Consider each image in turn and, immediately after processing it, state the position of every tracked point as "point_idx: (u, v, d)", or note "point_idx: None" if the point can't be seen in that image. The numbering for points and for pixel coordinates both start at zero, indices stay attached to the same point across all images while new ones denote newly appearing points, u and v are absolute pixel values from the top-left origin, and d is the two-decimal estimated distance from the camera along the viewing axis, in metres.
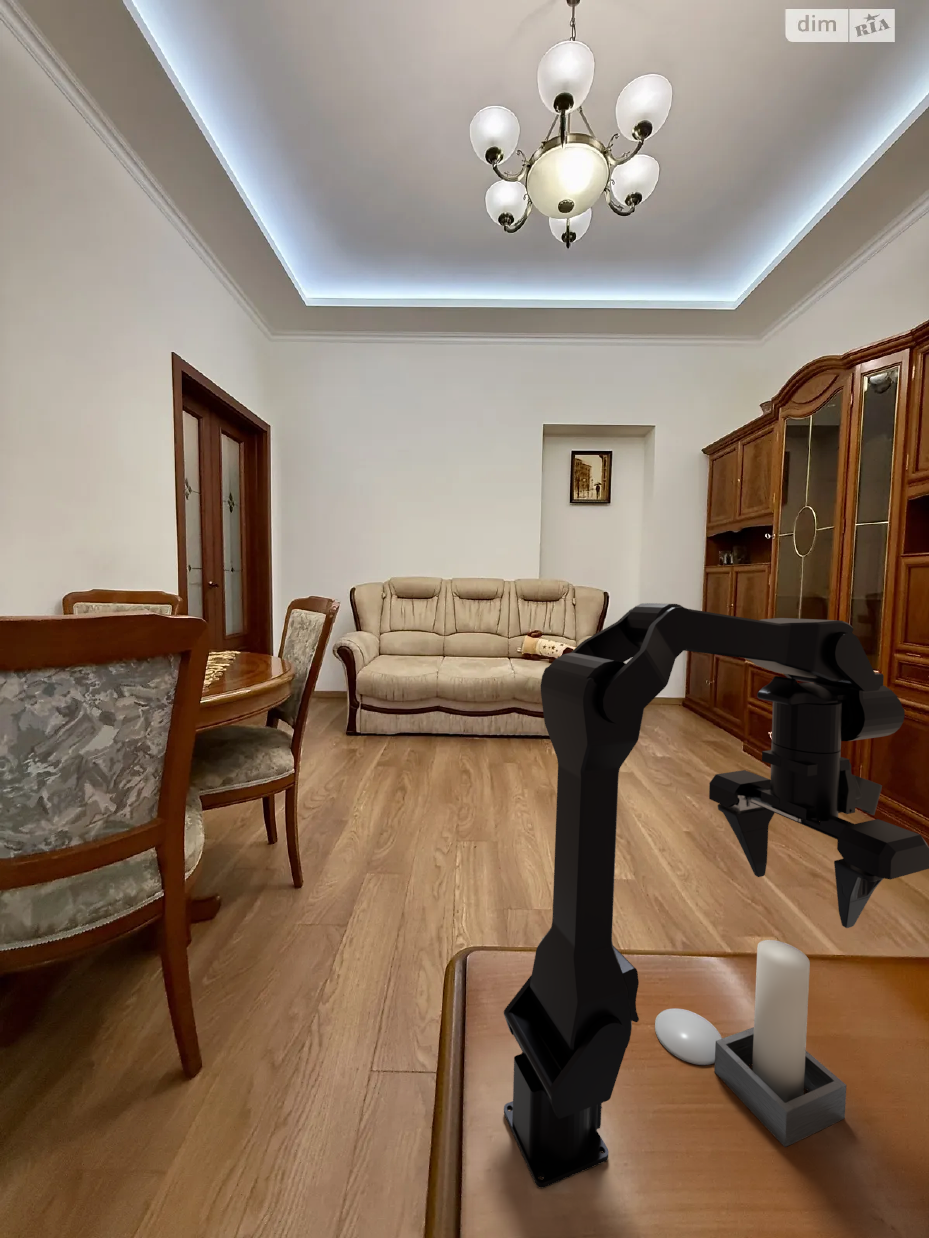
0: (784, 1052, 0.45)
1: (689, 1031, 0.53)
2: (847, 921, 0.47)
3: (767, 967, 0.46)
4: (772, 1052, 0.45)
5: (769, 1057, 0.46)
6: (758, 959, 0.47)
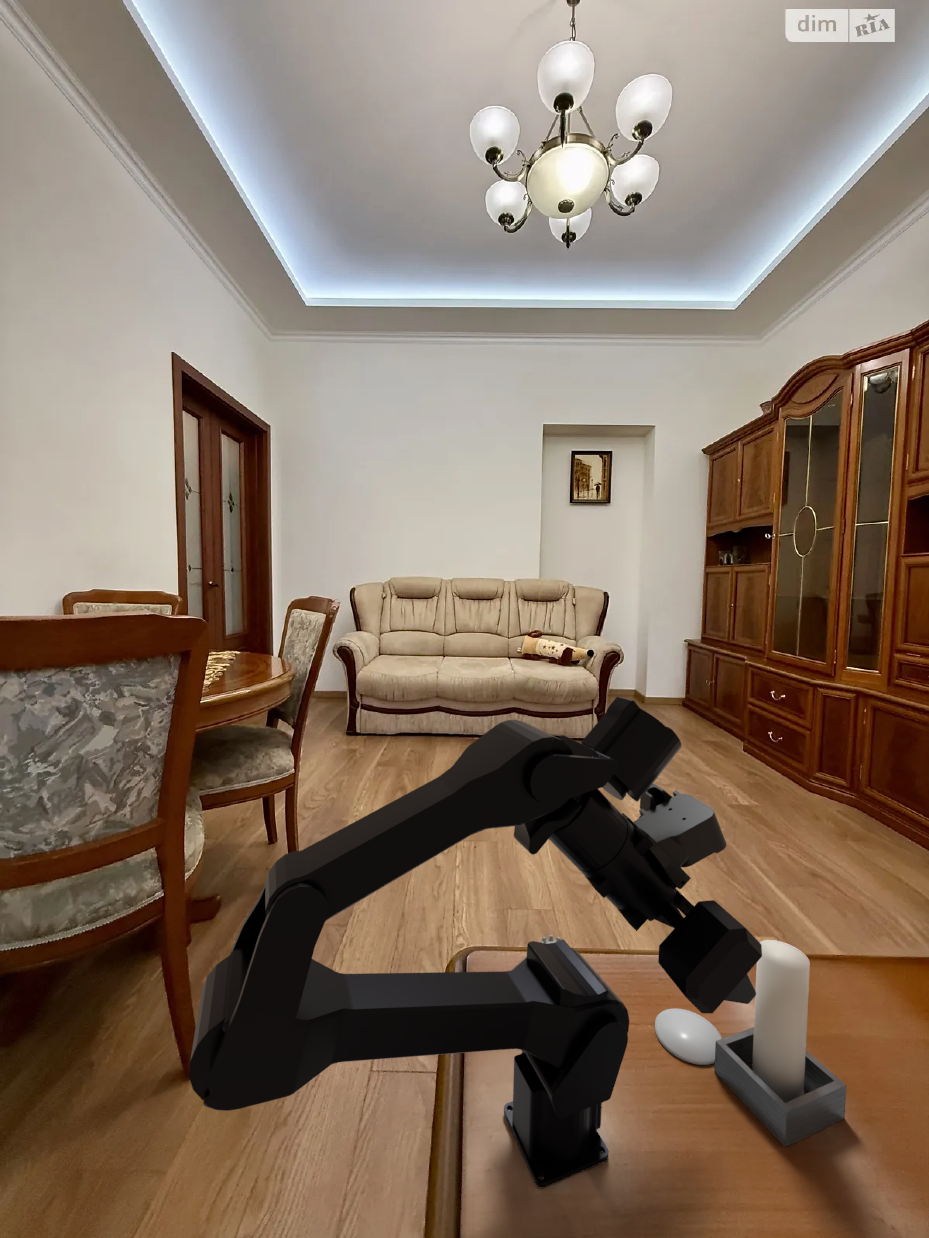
0: (784, 1052, 0.45)
1: (689, 1031, 0.53)
2: (741, 1002, 0.40)
3: (767, 967, 0.46)
4: (772, 1052, 0.45)
5: (769, 1057, 0.46)
6: None
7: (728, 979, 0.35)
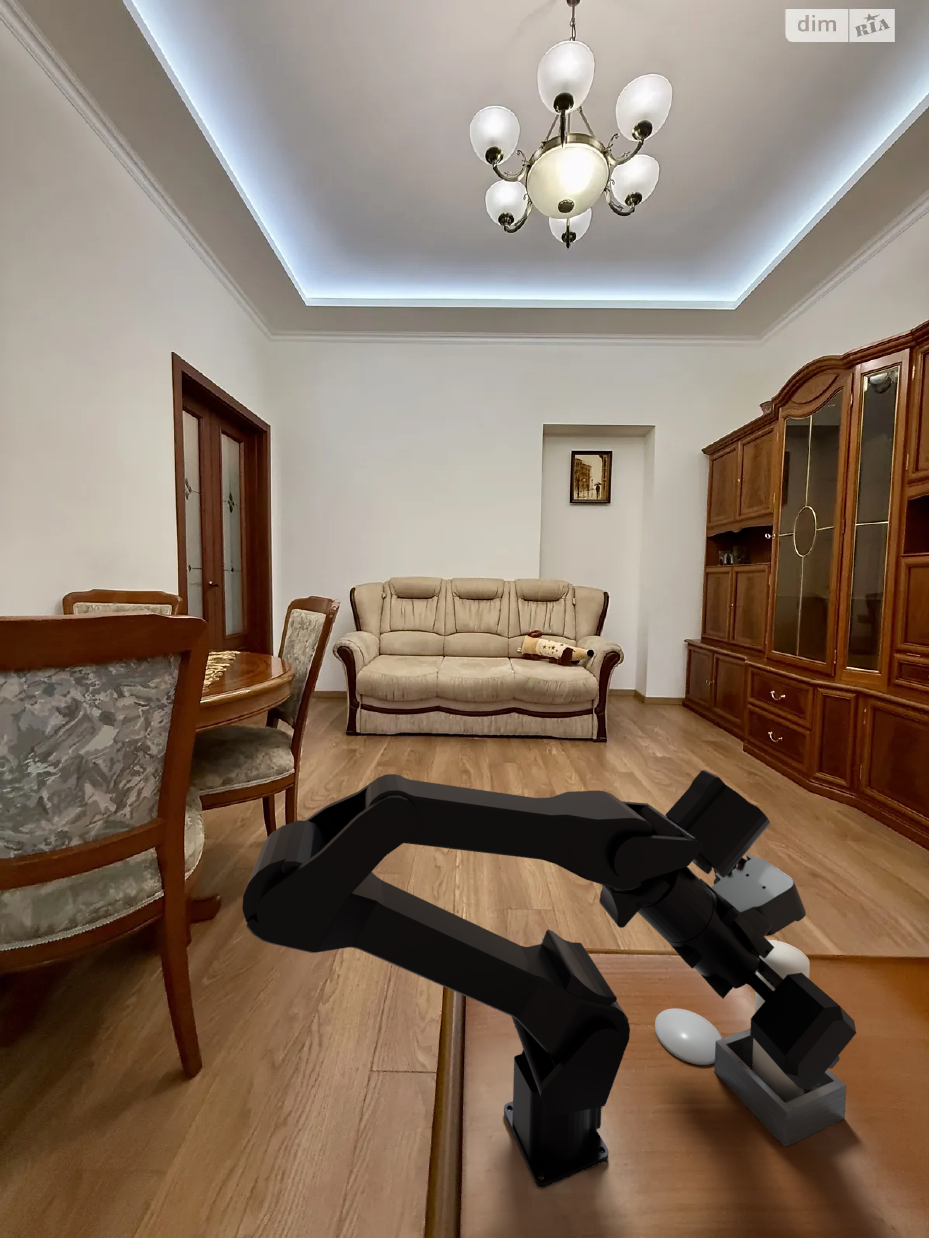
0: None
1: (689, 1031, 0.53)
2: None
3: None
4: None
5: (769, 1057, 0.46)
6: None
7: (825, 1056, 0.36)
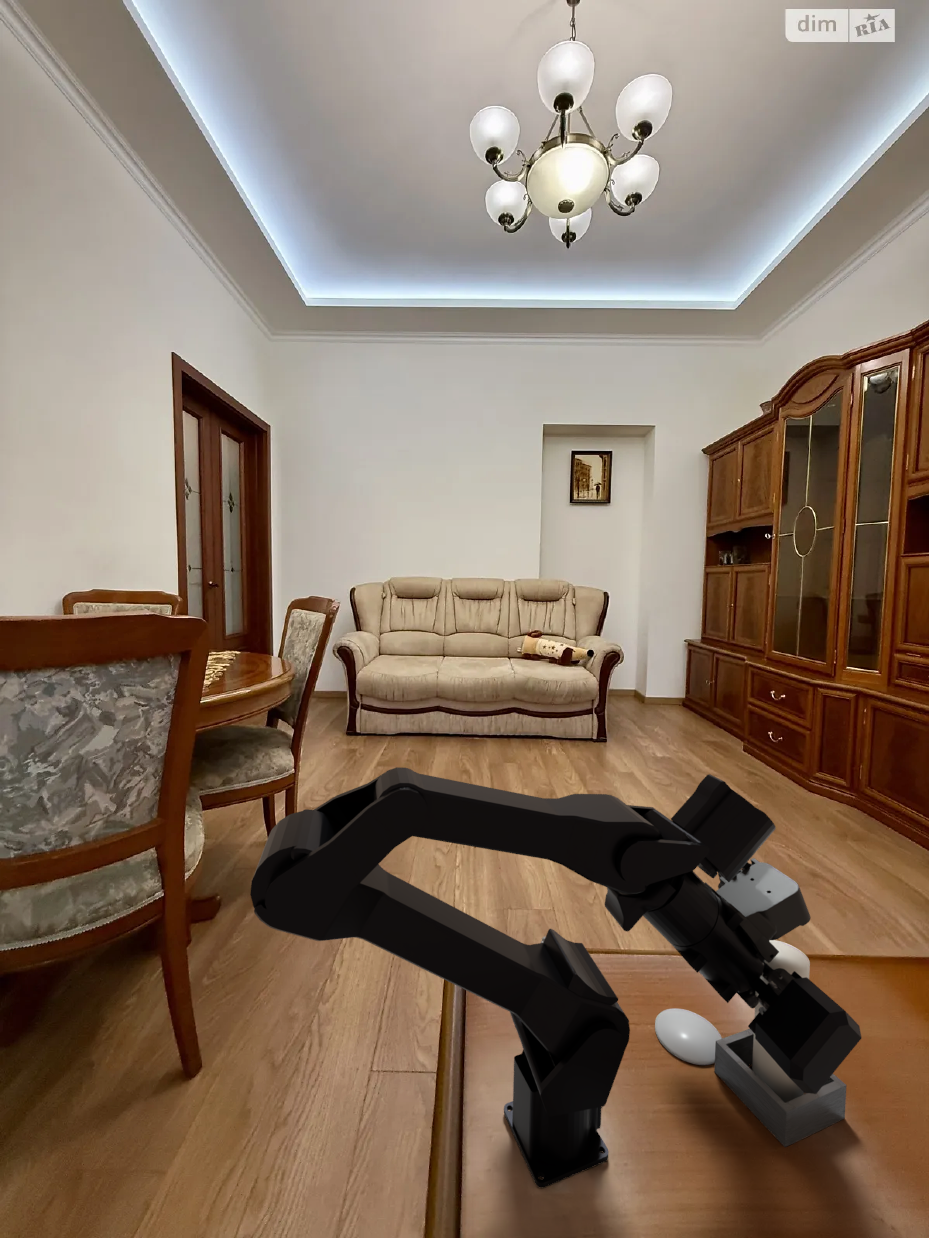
0: None
1: (689, 1031, 0.53)
2: None
3: None
4: None
5: (769, 1057, 0.46)
6: None
7: (830, 1061, 0.36)
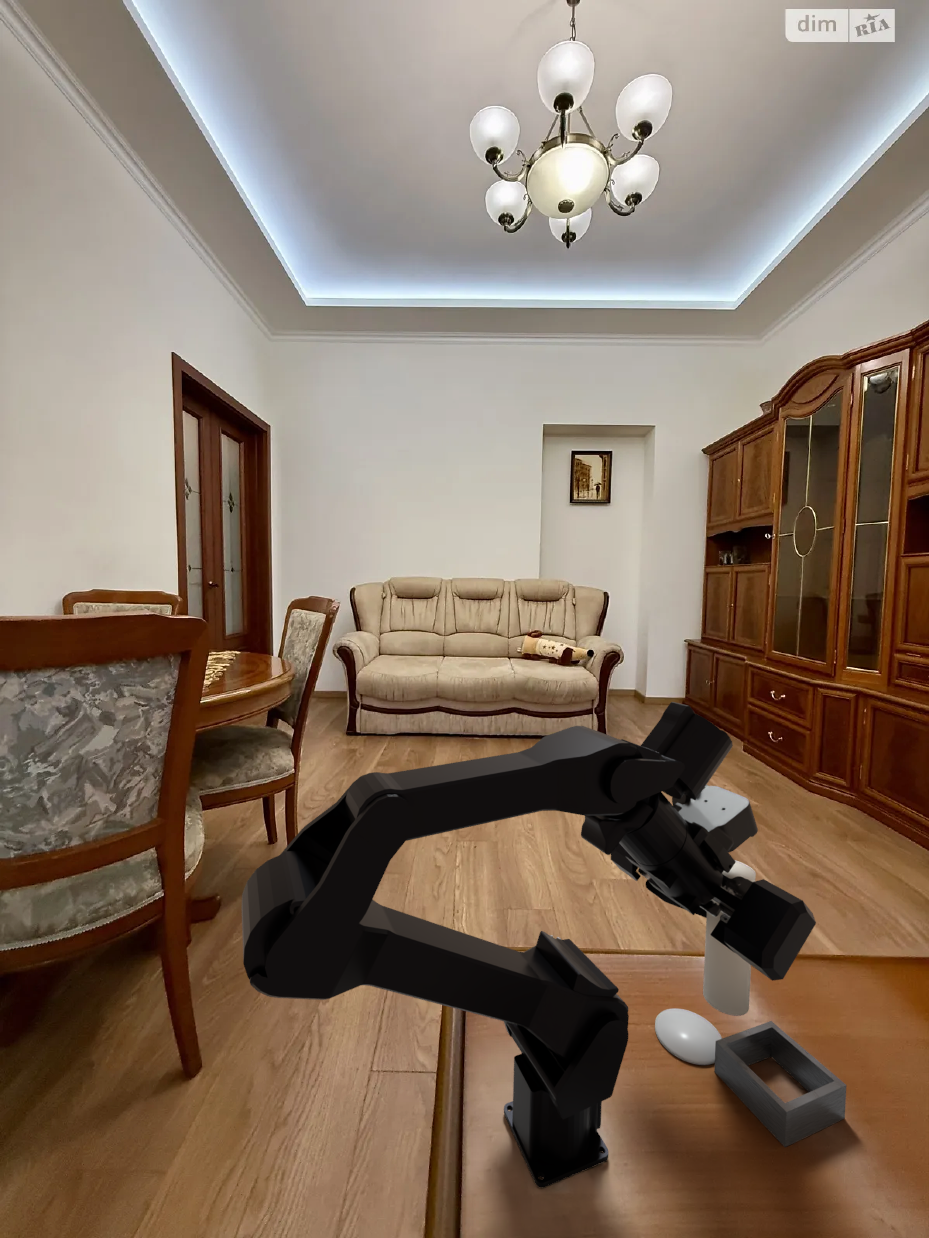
0: (736, 957, 0.48)
1: (689, 1031, 0.53)
2: None
3: None
4: (725, 959, 0.49)
5: (722, 964, 0.49)
6: None
7: (793, 947, 0.40)
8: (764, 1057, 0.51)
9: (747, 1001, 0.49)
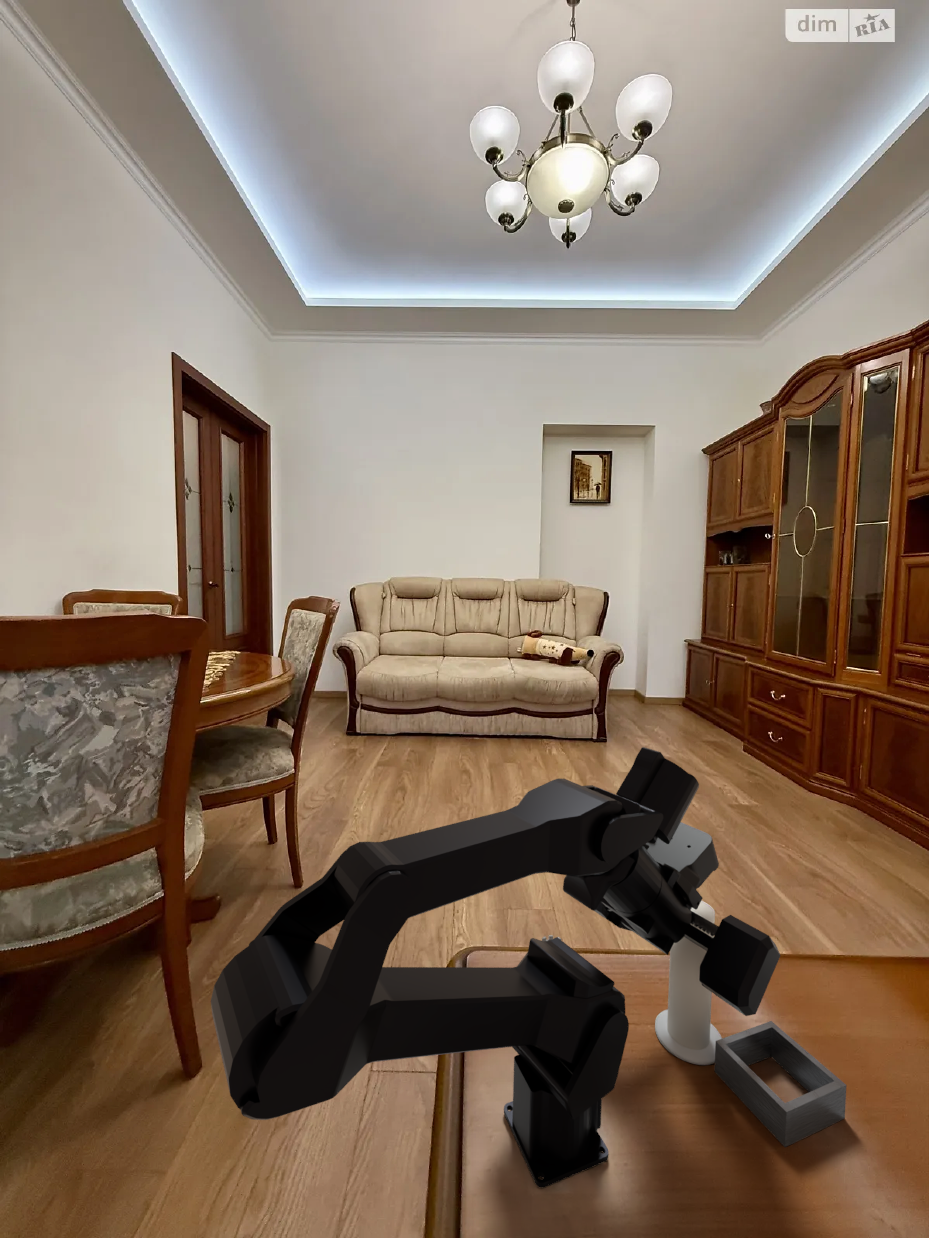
0: (699, 994, 0.51)
1: None
2: None
3: None
4: (690, 996, 0.51)
5: (687, 1002, 0.51)
6: None
7: (764, 982, 0.42)
8: (764, 1057, 0.51)
9: (709, 1033, 0.52)
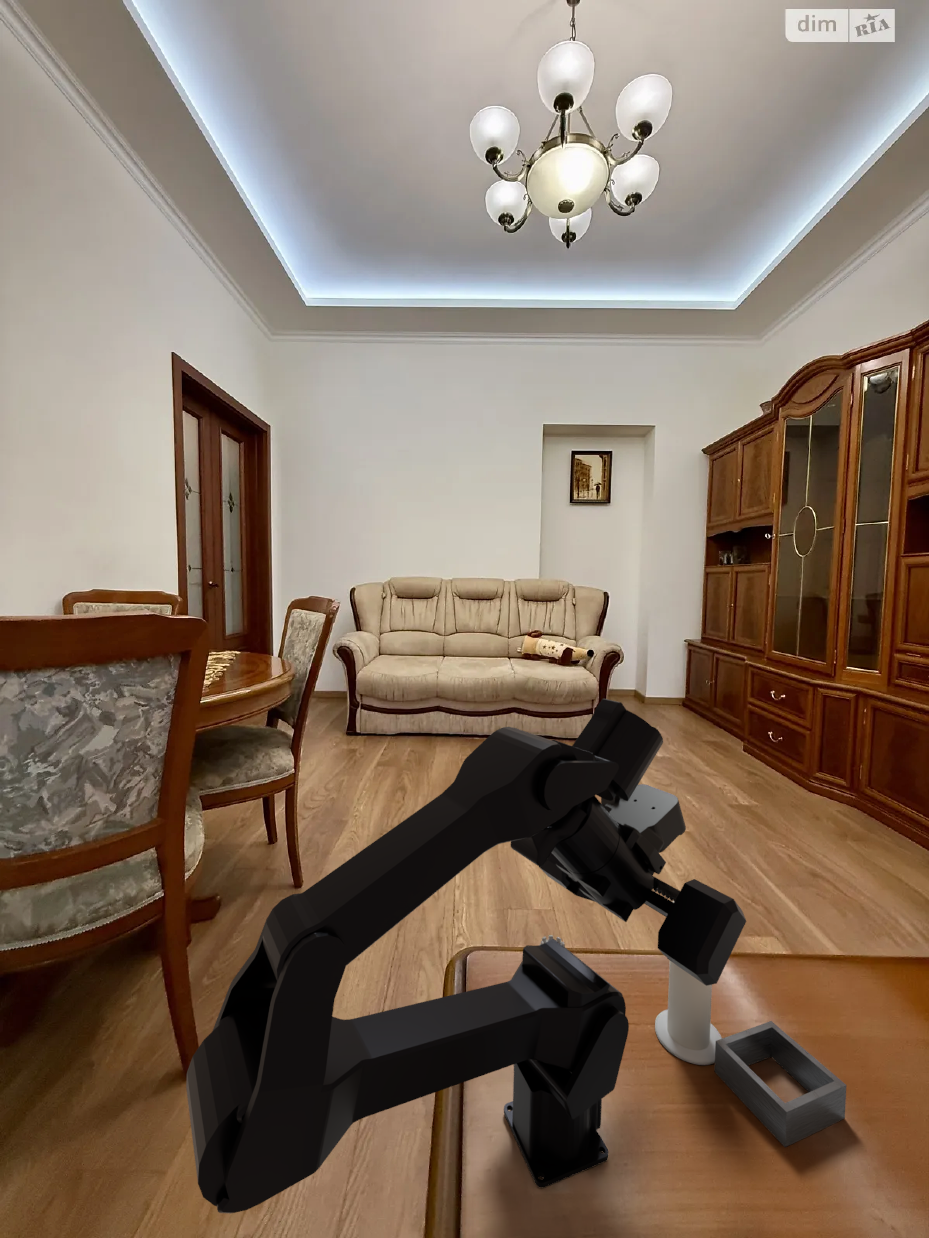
0: (699, 995, 0.51)
1: None
2: None
3: None
4: (690, 998, 0.51)
5: (687, 1003, 0.51)
6: None
7: (726, 948, 0.38)
8: (764, 1057, 0.51)
9: (709, 1034, 0.52)
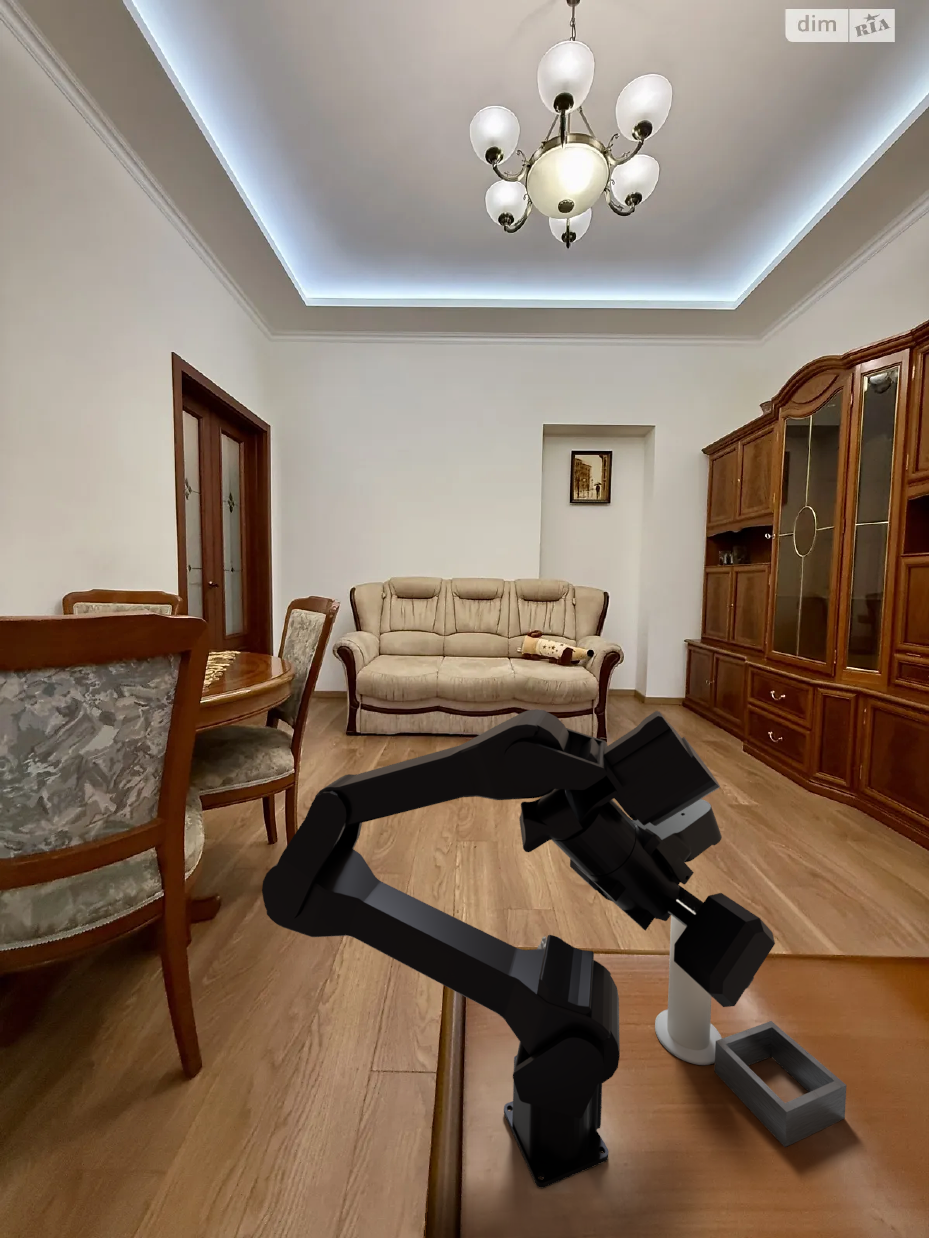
0: (699, 995, 0.51)
1: None
2: None
3: None
4: (689, 998, 0.51)
5: (687, 1003, 0.51)
6: (674, 918, 0.52)
7: (747, 970, 0.35)
8: (764, 1057, 0.51)
9: (709, 1034, 0.52)
